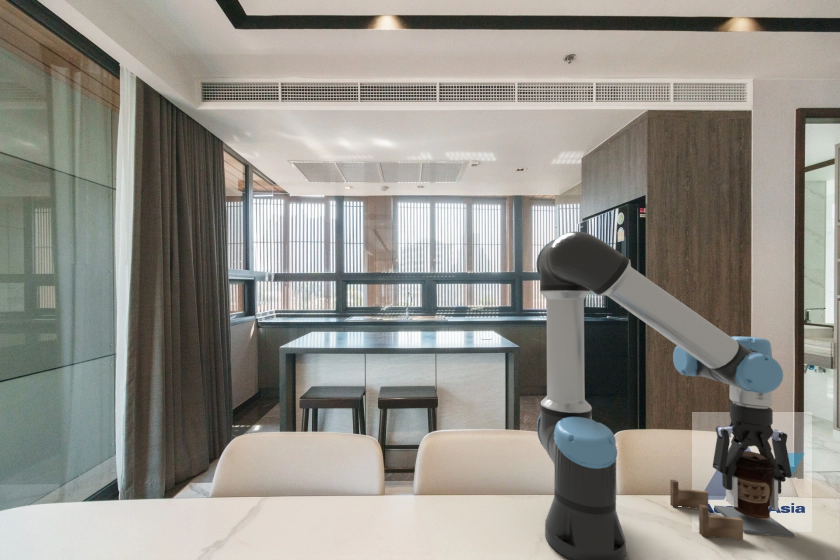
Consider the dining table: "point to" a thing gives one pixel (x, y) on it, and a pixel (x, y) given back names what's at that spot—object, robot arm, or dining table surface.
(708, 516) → the cup holder rails
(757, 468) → the coffee cup
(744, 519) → the coaster
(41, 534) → the dining table surface
